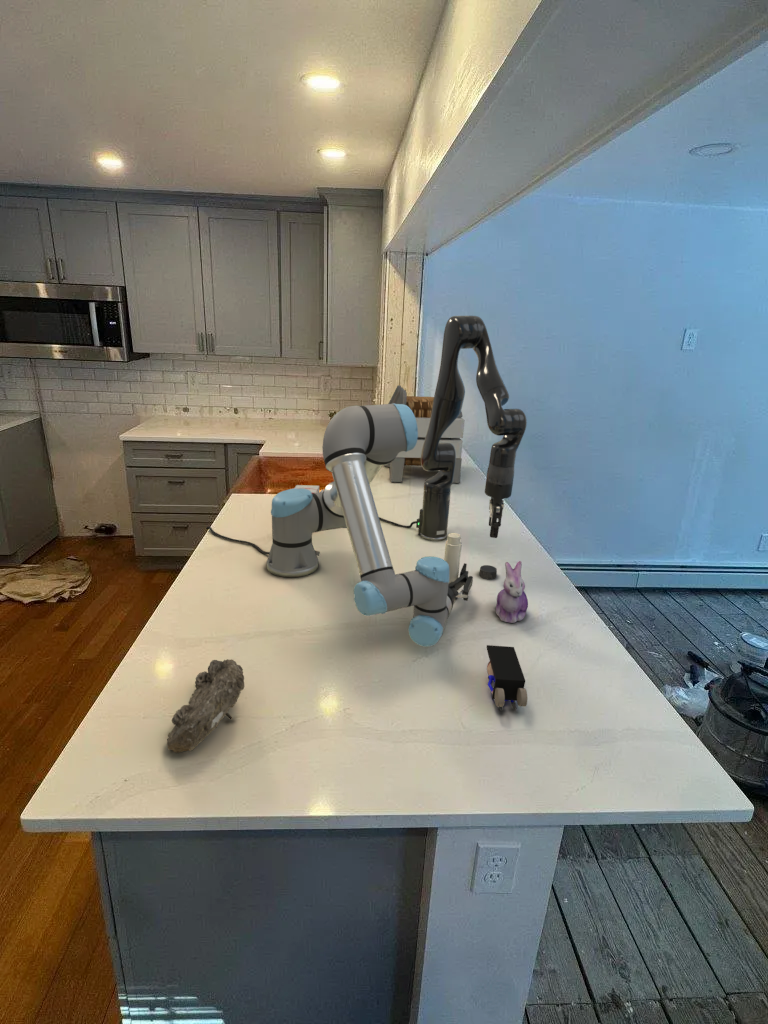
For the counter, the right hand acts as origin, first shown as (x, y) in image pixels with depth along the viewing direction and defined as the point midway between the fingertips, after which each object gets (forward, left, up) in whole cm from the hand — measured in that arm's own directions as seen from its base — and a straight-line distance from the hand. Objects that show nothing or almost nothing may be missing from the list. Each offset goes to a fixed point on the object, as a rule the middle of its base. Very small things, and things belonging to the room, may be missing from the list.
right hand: (492, 531), depth 167 cm
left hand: (-5, -14, -8) cm, 16 cm away
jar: (-3, -18, -14) cm, 24 cm away
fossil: (-14, -91, -14) cm, 93 cm away
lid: (0, 0, -12) cm, 12 cm away
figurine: (+15, -18, -14) cm, 28 cm away
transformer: (-75, +82, -14) cm, 112 cm away
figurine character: (+27, -50, -14) cm, 59 cm away
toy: (-75, 0, -14) cm, 76 cm away
